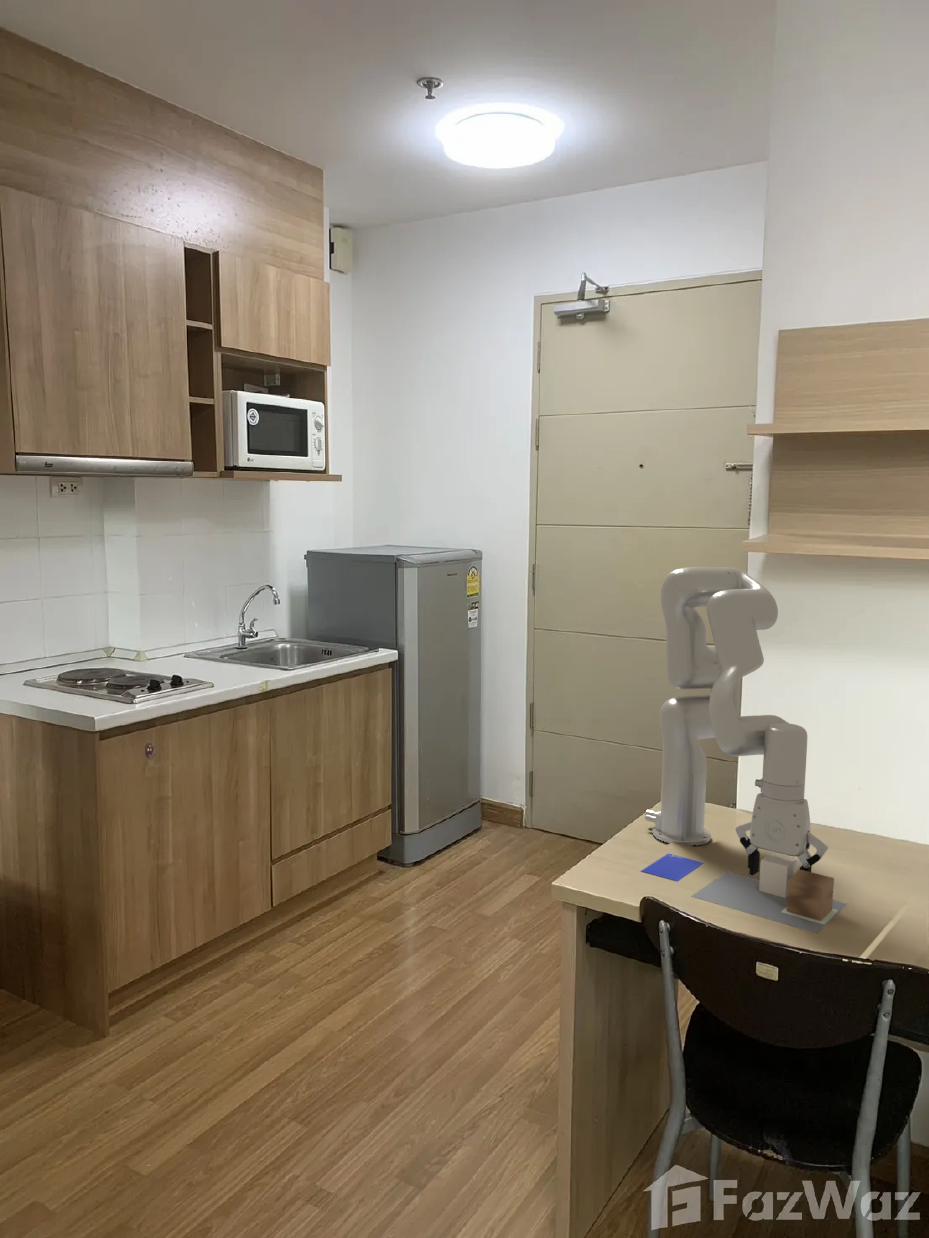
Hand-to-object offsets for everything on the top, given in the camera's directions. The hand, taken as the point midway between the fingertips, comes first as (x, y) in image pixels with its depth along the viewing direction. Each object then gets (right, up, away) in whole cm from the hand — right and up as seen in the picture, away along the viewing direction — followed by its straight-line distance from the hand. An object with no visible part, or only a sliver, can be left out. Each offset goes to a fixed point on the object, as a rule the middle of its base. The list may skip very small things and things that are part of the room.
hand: (778, 879), depth 174 cm
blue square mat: (-17, -2, +11) cm, 21 cm away
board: (-3, -3, -4) cm, 6 cm away
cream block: (0, -2, 0) cm, 2 cm away
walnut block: (+3, -3, -9) cm, 10 cm away
